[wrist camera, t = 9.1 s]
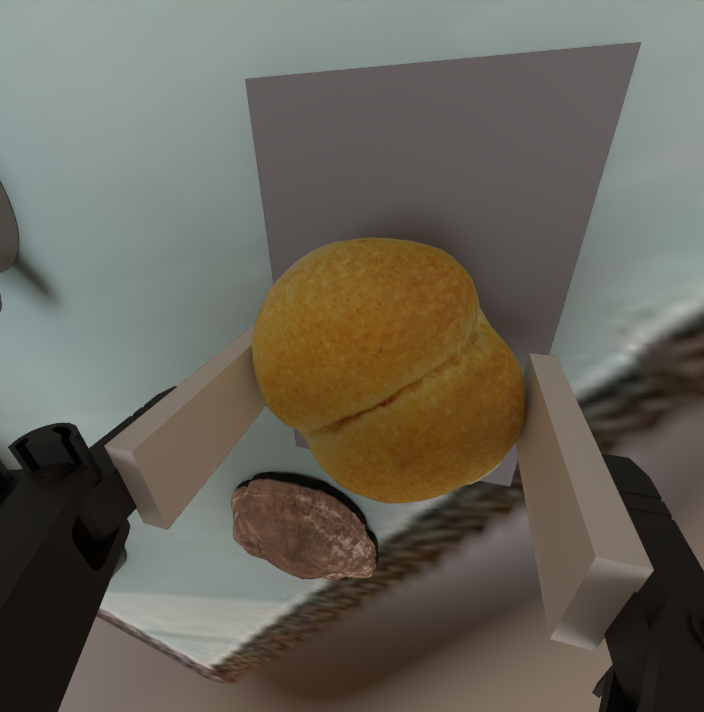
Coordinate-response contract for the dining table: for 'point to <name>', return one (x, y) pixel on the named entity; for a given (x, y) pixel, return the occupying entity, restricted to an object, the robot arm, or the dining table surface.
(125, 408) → the dining table surface
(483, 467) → the bread roll
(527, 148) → the mat
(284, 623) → the dining table surface
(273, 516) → the shell
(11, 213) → the coffee mug
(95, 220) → the dining table surface
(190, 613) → the dining table surface
